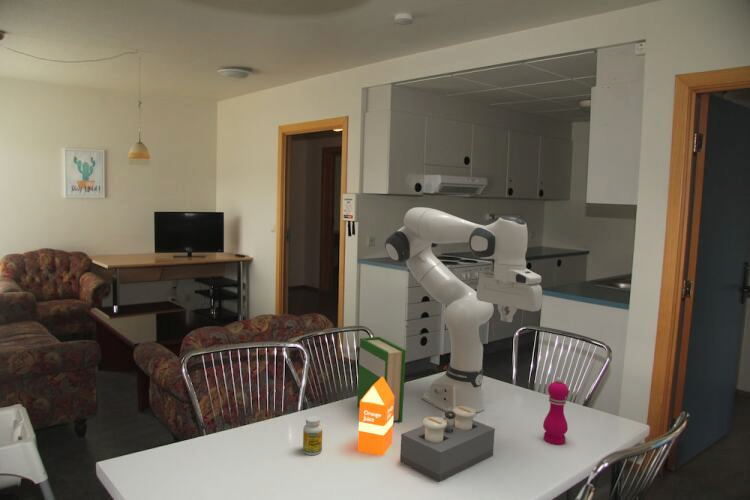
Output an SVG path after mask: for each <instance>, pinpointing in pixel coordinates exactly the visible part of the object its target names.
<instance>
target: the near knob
mask: <svg viewBox="0 0 750 500" xmlns="http://www.w3.org/2000/svg"><path fill="white" fill-rule="evenodd" d="M422 426H424V427H425V440H427V441H429V442H431V443H434V444H437V443H439V442H442V441H443V433H444V429H445V428H446V426H447V422H446V420H444V419H443V418H442V417H438V416H427V417H424V418H423V420H422Z"/></svg>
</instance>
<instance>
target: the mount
mask: <svg viewBox="0 0 750 500" xmlns="http://www.w3.org/2000/svg"><path fill="white" fill-rule="evenodd" d="M442 419H444V420H445V419H446V417H445V416H444V417H443V418H442ZM454 426H455V418H454ZM495 431H496V429H495V428H494V427H491V426H489V425H486V424H485V423H481V422H479V421H476V420H474V419H473V421H472V429H470V430H468V431H466V432H465V431H463V430H460V429H458V428H455V427H454V430H453V433H447V432H445V429H444V433H443V441H442V442H439V443H437V444H434V443H431V442H429V441H427V440H425V427H424V426H423V425H421V426H419V427H416V428H413V429H411V430H408V431H405V432H403V433H401V435H400V438H401V439H400V451H399V452H400V454H399V462H400V463H401V464H403V465H405V466H407V467H408V468H411V469H413V470H415V471H417V472H419V473H421V474H423V475H424V476H427V477H428V478H430V479H432V480H434V481H436V482H438V483H440V482H442V481H444V480H446V479H448V478H450V477H453V476H455V475H456V474H459V473H460V472H462V471H465V470H466V469H469V468H471V467H472V466H474V465H476V464H478V463H479V464H480V462H481V463H482V461H485V460H487V459H488V458H490V457H493V456H494V446H495V435H496V434H495V433H496V432H495Z"/></svg>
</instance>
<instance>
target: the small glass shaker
mask: <svg viewBox="0 0 750 500" xmlns="http://www.w3.org/2000/svg"><path fill="white" fill-rule="evenodd" d="M455 415H456V414H455V413H454V412H451V411H447V412H446V411H444V418H445V417H446V419H445V420H446V422H447V426H446V428H445V432H447V433H453V430H454V418H455Z"/></svg>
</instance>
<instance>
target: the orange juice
mask: <svg viewBox="0 0 750 500" xmlns="http://www.w3.org/2000/svg"><path fill="white" fill-rule="evenodd" d="M393 411H394V395H393V394H392V392H391V390H390V388H389V387H388V385H387V383H386V381H385V379H384V378H383V376H382V377H381V378H380V379H379V380H378V381H377V382H376V383H375V384H374V385H373V386H372V387H371V388H370V390H369V391H368V392H367V393H366V395H365V396H364V397H363V398H362V400H361V401H360V408H359V414H358V415H359V416H358V417H359V418H358V437H357V438H358V441H357V442H358V443H357V451H358V452H362V453H367V454H372V455H378V456H384V455H385V453H386V452H387V450H388V449H389V448H390V447H391V445H392V444H393V429H394V428H393V427H394V421H393Z"/></svg>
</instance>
